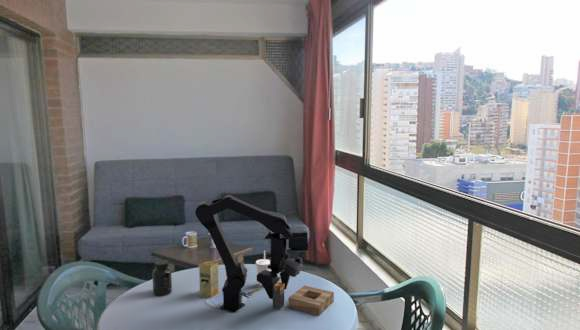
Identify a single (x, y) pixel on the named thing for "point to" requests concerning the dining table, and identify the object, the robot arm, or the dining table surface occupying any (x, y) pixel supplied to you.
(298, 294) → the block
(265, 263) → the smoothie
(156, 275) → the supplement bottle
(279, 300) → the orange and grey peg
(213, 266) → the shoe polish box
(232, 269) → the robot arm
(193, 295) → the dining table surface
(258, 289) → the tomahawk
